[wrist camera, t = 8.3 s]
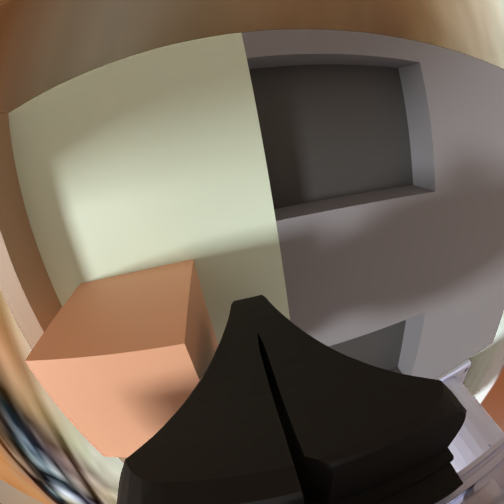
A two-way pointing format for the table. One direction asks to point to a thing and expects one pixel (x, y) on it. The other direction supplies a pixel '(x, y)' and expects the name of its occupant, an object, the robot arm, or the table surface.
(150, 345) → the block
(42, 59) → the table surface
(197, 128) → the platform
